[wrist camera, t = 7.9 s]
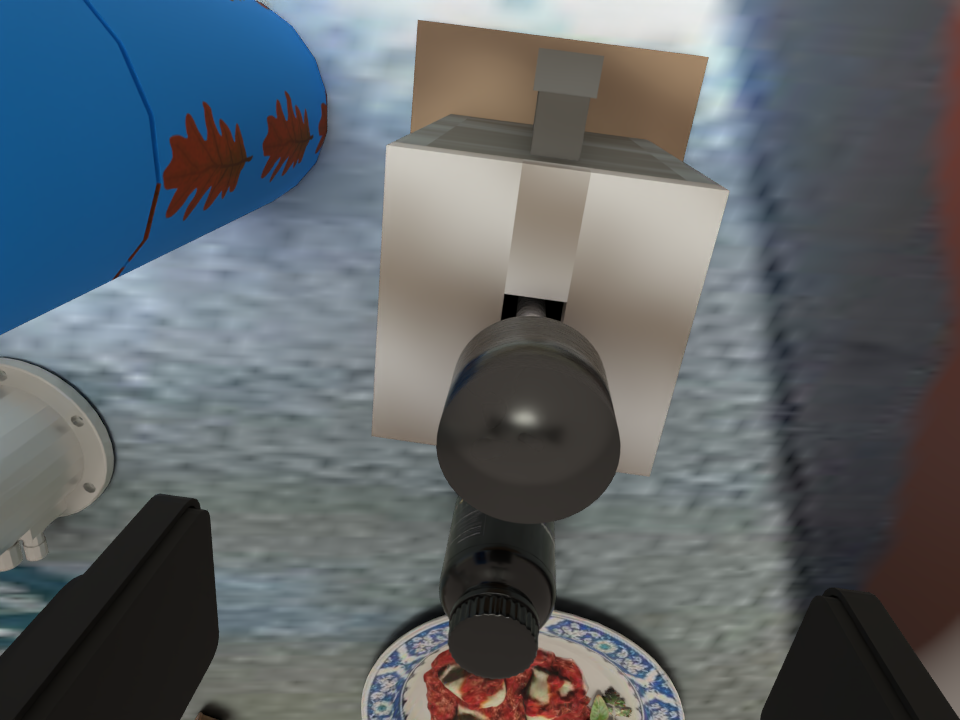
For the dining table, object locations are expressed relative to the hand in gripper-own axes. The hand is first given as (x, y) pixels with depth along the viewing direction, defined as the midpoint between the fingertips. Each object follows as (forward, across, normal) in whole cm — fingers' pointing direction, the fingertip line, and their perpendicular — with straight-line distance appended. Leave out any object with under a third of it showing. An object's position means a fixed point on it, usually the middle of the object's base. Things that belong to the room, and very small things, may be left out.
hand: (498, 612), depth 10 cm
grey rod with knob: (+25, -1, 0) cm, 25 cm away
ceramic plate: (+29, -6, +40) cm, 49 cm away
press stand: (+28, -1, 0) cm, 28 cm away
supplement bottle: (+29, -2, +20) cm, 35 cm away
